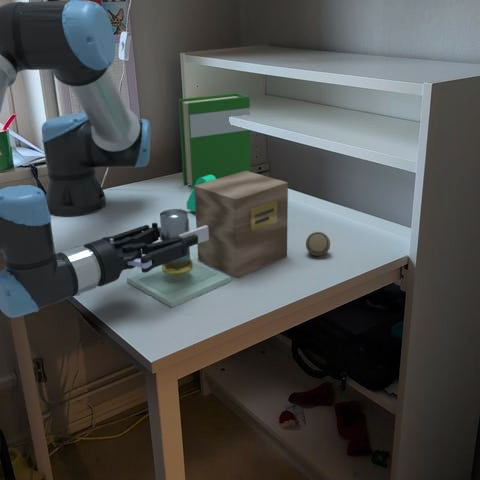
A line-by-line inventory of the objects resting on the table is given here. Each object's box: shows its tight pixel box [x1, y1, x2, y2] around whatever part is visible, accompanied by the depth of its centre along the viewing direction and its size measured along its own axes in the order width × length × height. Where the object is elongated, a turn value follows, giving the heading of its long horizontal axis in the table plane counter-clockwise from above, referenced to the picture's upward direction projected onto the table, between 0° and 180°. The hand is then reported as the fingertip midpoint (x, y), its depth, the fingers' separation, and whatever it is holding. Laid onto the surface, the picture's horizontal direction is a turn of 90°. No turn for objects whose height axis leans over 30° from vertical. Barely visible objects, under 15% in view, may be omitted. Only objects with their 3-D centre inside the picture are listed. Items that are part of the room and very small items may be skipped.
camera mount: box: [186, 175, 216, 213], centre depth 148 cm, size 12×8×10 cm, turn 47°
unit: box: [194, 171, 289, 279], centre depth 122 cm, size 13×14×16 cm
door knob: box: [305, 231, 331, 257], centre depth 125 cm, size 5×5×5 cm
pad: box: [126, 257, 231, 308], centre depth 115 cm, size 14×14×1 cm
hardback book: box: [178, 92, 252, 191], centre depth 167 cm, size 18×7×24 cm, turn 117°
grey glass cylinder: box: [159, 208, 193, 275], centre depth 112 cm, size 6×6×11 cm
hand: (197, 228), depth 115 cm, fingers closed on grey glass cylinder, 5 cm apart
